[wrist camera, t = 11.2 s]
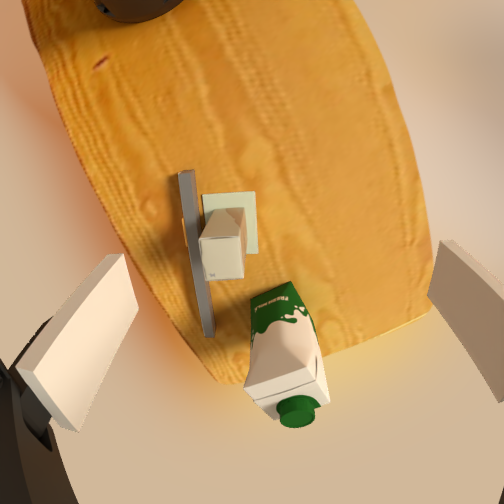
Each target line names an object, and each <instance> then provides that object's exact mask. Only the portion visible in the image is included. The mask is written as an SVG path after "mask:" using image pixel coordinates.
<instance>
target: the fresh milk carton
mask: <svg viewBox="0 0 504 504" xmlns="http://www.w3.org/2000/svg"><path fill="white" fill-rule="evenodd" d="M243 389H244V390H245V391H246V392H247V393H248V395H250V397H251V398H252V399H253V401H254V402H255V404H257V405H258V406H259V407H260V408H261V409H262V410H263V411H265V412H266V414H268V415H269V416H270V417H271V418H272V419H273V420H277V419H280V422H281V424H282V425H284V426H286V427H289V428H299V427H304V426H306V425H309V424H311V423H312V422H313V421H314V419H315V411H314V409H315V408H318V407H321V406H322V405H325V404H328V403H330V398H329V392H328V387H327V382H326V377H325V372H324V367H323V362H322V357H321V352H320V348H319V343H318V339H317V335H316V330H315V326H314V323H313V320H312V318H311V316H310V314H309V312H308V311H307V309H306V307H305V305H304V303H303V302H302V300H301V298H300V296H299V295H298V293H297V291H296V289H295V288H294V286H293V284H292V282H291V281H290V282H288V283H286V284H284V285H281V286H279V287H277V288H275V289H273V290H270V291H268V292H266V293H264V294H261V295H259V296H257V297H255V298H252V299H251V346H250V369H249V372H248V375H247V378H246V381H245V384H244V387H243Z"/></svg>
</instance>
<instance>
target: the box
mask: <svg viewBox="0 0 504 504" xmlns="http://www.w3.org/2000/svg"><path fill="white" fill-rule="evenodd" d="M198 241H199V248H200V254H201V260H202V266H203V271H204V276H205V280H206V281H220V280H234V279H243V278H244V268H245V258H246V249H247V241H248V239H247V226H246V216H245V208H244V207H237V208H222V209H215V210H214V211H213V213H212V215H211V217H210V219H209V221H208V222H207V224H206V226H205V228H204V230H203V232H202V234H201V236H200V238H199V240H198Z"/></svg>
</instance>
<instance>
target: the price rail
mask: <svg viewBox="0 0 504 504" xmlns="http://www.w3.org/2000/svg"><path fill="white" fill-rule="evenodd" d="M178 178H179V187H180V194H181V202H182V209H183V218H182V225H183V232H184V238H185V244H186V247H188V249H189V256H190V262H191V268H192V273H193V279H194V285H195V290H196V296H197V301H198V306H199V312H200V317H201V322H202V327H203V332H204V336H205V337H214V336H215V331H216V324H215V318H214V312H213V306H212V300H211V293H210V287H209V281H206V280H205V276H204V271H203V266H202V260H201V254H200V248H199V241H198V240H199V238H200V236H201V234H202V230H201V223H200V215H199V207H198V198H197V189H196V181H195V171H194V170H184V171H182V172H179V173H178Z"/></svg>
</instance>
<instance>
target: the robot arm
mask: <svg viewBox="0 0 504 504" xmlns="http://www.w3.org/2000/svg"><path fill="white" fill-rule="evenodd" d="M182 1H183V0H94V3H95V5H96V7H97V8H98V9H99V10H100V11H101V12H102V13H103V14H104V15H106V16H108V17H109V18H111V19H113V20H115V21H118V22H123V23H137V22H143V21H147V20H150V19H153V18H156V17H158V16H160V15H163V14H164V13H166V12H168V11H170V10H171V9H173V8H174V7H176V6H177V5H178V4H179V3H181V2H182ZM427 296H428V298H429V299H430V300H431V302H432V303H433V304H434V305H435V307H436V308H437V309H438V311H439V312H440V314H441V315H442V316H443V318H444V319H445V320H446V322H447V323H448V325H449V326H450V327H451V329H452V330H453V332H454V333H455V334H456V336H457V337H458V339H459V340H460V342H461V343H462V345H463V346H464V348H465V349H466V350H467V352H468V354H469V355H470V357H471V358H472V360H473V361H474V363H475V364H476V366H477V368H478V369H479V370H480V372H481V374H482V376H483V377H484V379H485V381H486V382H487V384H488V386H489V387H490V389H491V391H492V393H493V394H494V396H495V398H496V399H497V401H498V403H500V402H502V401H504V284H503V283H502V282H500V281H499V280H498V279H497V278H496V277H495V276H494V275H493V274H492V273H491V272H490V271H488V270H487V269H486V268H485V267H484V266H483V265H482V264H481V263H479V262H478V261H477V260H476V259H475V258H474V257H472V256H471V255H470V254H469V253H468V252H466V251H465V250H464V249H463V248H462V247H460V246H459V245H458V244H457V243H456V242H454V241H453V240H450V241H440V243H439V248H438V253H437V257H436V262H435V266H434V270H433V274H432V279H431V282H430V286H429V290H428V294H427ZM138 310H139V308H138V305H137V301H136V298H135V295H134V291H133V288H132V284H131V280H130V277H129V273H128V269H127V265H126V262H125V258H124V254H108V255H107V256H106V257H105V258H104V259H103V260H102V261H101V262H100V263H99V264H98V265H97V266H96V267H95V269H94V270H93V271H92V272H91V273H90V274H89V275H88V276H87V277H86V278H85V280H84V281H83V282H82V283H81V284H80V285H79V286H78V288H77V289H76V290H75V291H74V292H73V293H72V295H71V296H70V297H69V298H68V299H67V300H66V302H65V303H64V304H63V305H62V306H61V308H60V309H59V310H58V311H57V312H56V314H55V315H54V316H53V317H51V318H50V319H48V320H47V321H46V322H44V323H43V324H42V325H41V327H40V328H39V329H38V330H37V332H36V333H35V335H34V336H33V337H32V338H31V339H30V341H29V343H27V345H26V346H25V347H24V349H23V350H22V351H21V353H20V354H19V355H18V357H17V358H16V359H15V361H14V362H13V364H12V365H11V366H10V368H9V369H8V370H7V368H6V367H5V365H4V363H3V362H2V360H1V359H0V504H79V503H78V501H77V499H76V496H75V494H74V492H73V489H72V487H71V484H70V482H69V479H68V476H67V474H66V471H65V468H64V465H63V462H62V459H61V456H60V453H59V450H58V446H57V443H56V439H55V436H54V432H53V429H52V427H51V426H50V424H49V421H50V418H51V417H53V418H54V420H55V421H56V422H57V423H58V424H59V425H60V427H62V428H65V429H68V430H72V431H75V432H78V433H79V432H80V430H81V427H82V425H83V422H84V420H85V418H86V416H87V413H88V411H89V408H90V407H91V404H92V402H93V400H94V398H95V396H96V393H97V391H98V389H99V387H100V385H101V383H102V381H103V379H104V376H105V374H106V372H107V370H108V368H109V366H110V364H111V362H112V360H113V358H114V356H115V354H116V352H117V350H118V348H119V346H120V344H121V342H122V340H123V338H124V336H125V334H126V332H127V330H128V329H129V326H130V325H131V323H132V321H133V319H134V317H135V316H136V313H137V312H138ZM499 504H504V488H503V491H502V495H501V498H500V501H499Z"/></svg>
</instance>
